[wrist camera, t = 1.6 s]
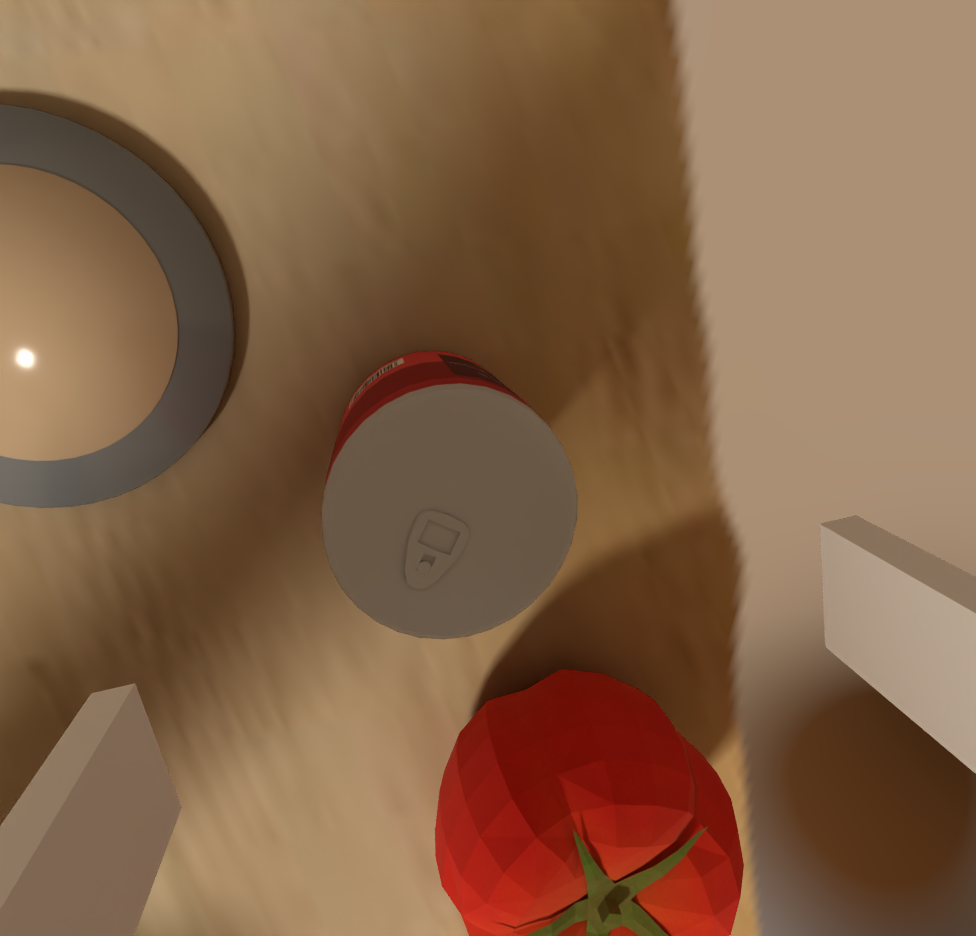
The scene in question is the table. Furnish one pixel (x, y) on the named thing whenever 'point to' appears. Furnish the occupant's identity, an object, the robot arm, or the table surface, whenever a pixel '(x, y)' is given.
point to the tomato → (585, 818)
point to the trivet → (100, 317)
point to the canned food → (445, 499)
